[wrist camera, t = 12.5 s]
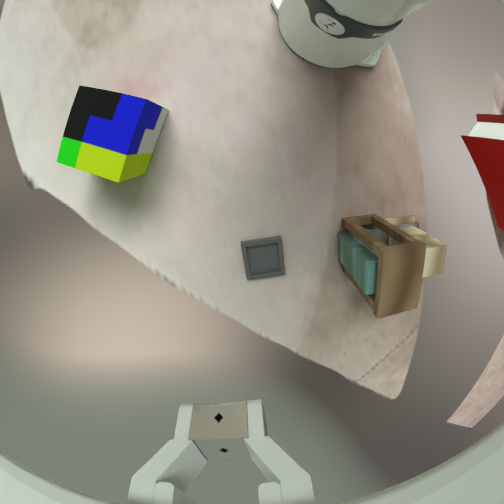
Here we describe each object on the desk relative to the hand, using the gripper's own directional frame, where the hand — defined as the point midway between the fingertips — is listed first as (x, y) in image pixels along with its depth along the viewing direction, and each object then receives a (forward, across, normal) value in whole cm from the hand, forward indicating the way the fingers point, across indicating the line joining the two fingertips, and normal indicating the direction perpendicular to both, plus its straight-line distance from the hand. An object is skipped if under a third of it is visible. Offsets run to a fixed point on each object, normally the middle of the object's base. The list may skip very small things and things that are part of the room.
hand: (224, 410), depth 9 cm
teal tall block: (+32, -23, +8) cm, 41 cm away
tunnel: (+33, -19, +8) cm, 39 cm away
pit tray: (+33, -3, +8) cm, 34 cm away
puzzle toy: (+33, +14, -14) cm, 39 cm away
